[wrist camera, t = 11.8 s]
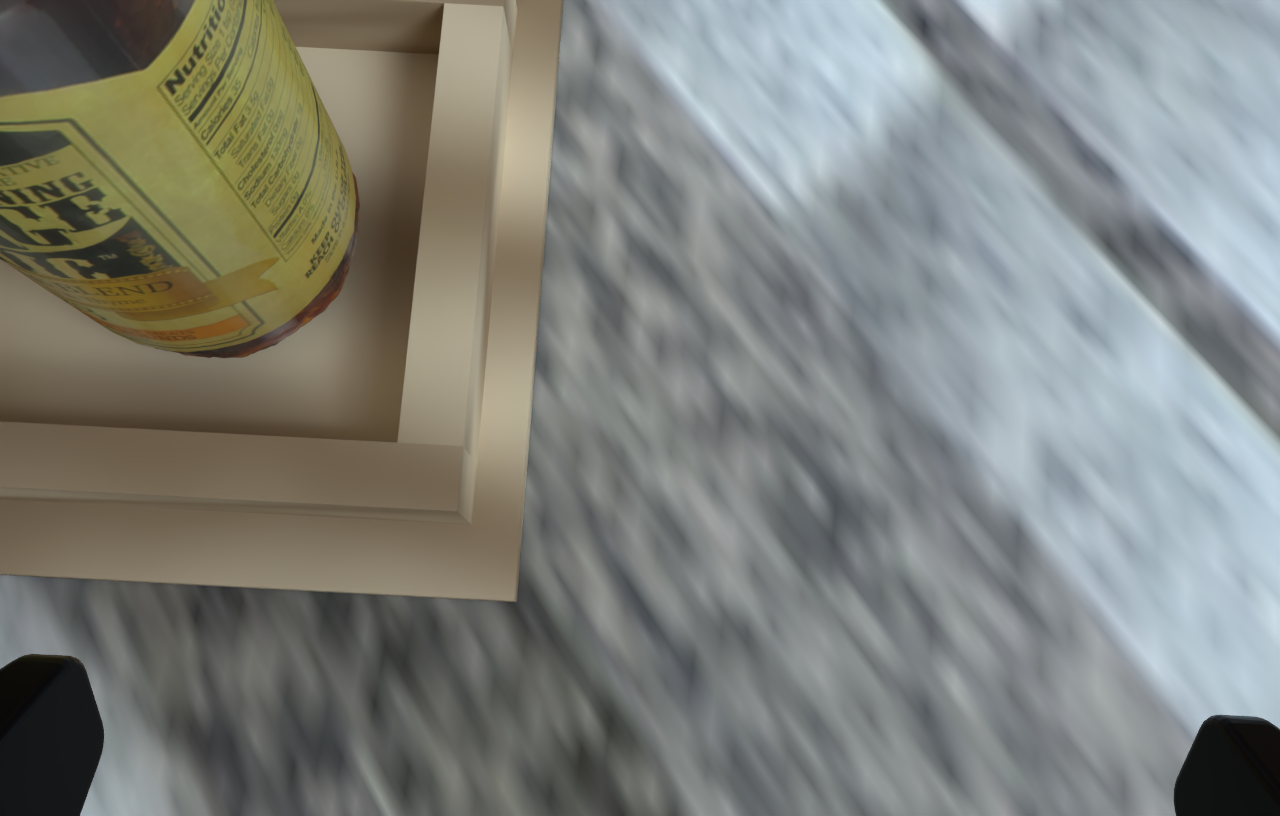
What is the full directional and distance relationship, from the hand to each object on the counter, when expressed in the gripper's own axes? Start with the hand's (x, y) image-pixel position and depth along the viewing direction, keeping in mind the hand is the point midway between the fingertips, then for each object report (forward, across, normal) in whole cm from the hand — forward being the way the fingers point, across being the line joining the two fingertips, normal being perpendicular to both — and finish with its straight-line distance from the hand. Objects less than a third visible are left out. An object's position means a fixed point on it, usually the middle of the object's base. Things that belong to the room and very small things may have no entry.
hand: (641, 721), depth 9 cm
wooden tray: (+16, +10, +3) cm, 19 cm away
